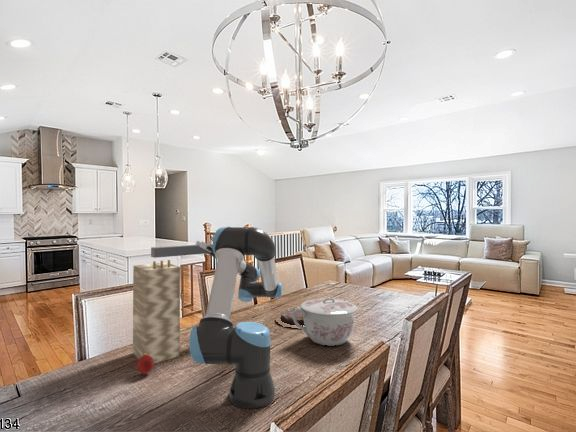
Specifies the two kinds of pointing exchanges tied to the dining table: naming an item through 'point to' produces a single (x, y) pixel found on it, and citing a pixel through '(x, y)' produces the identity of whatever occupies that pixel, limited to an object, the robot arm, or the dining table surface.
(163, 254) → the bar
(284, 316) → the chocolate cake
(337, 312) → the chamber pot
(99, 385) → the dining table surface
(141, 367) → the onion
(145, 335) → the shelf stand
